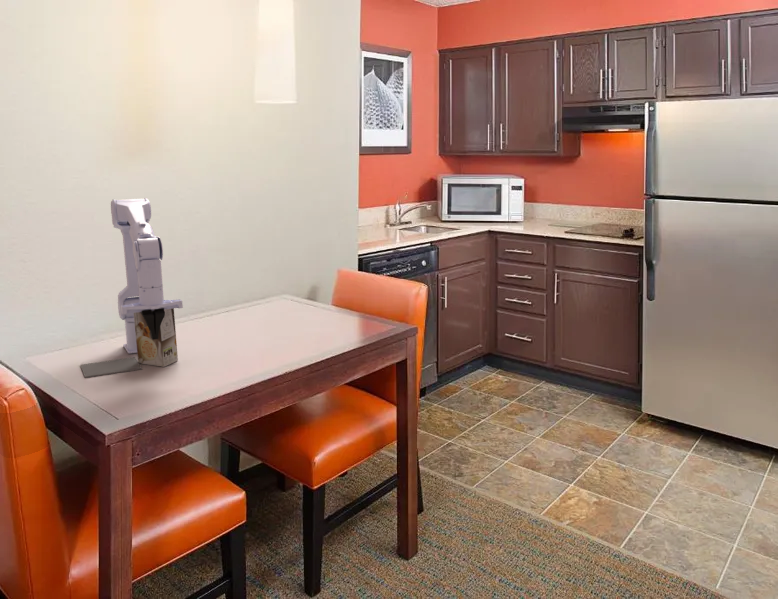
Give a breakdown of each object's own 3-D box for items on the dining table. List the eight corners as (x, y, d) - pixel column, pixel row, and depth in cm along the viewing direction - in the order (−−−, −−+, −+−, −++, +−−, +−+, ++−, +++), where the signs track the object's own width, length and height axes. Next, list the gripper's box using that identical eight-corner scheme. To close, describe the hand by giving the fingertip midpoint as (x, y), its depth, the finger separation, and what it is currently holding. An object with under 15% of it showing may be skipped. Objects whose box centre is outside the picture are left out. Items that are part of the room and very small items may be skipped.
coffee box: (179, 360, 189) (175, 304, 186) (163, 367, 183) (159, 309, 180) (152, 356, 192) (148, 301, 189) (136, 363, 187) (131, 306, 183)
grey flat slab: (80, 366, 184) (80, 364, 184) (134, 358, 191) (134, 356, 191) (85, 378, 175) (84, 376, 175) (142, 369, 182) (142, 367, 182)
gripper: (122, 291, 163) (127, 346, 167) (183, 286, 170) (187, 338, 173) (117, 286, 169) (122, 339, 173) (177, 281, 176) (181, 331, 179)
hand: (154, 338), depth 173 cm, fingers closed
